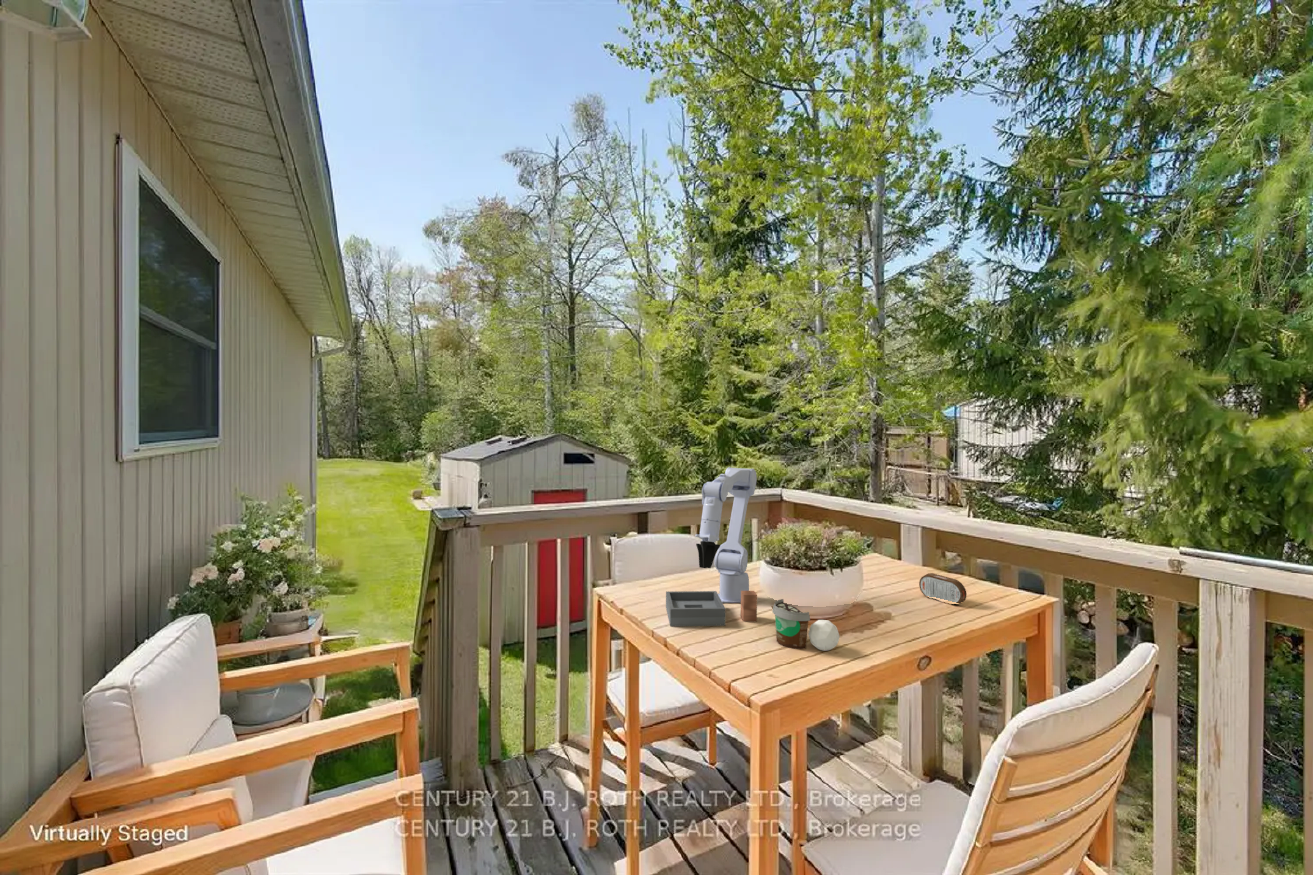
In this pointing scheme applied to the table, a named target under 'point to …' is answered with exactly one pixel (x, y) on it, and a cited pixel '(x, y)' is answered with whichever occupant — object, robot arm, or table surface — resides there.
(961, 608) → the table surface
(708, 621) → the hole box
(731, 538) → the robot arm
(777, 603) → the food container
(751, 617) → the peg
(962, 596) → the tin
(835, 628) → the ball
